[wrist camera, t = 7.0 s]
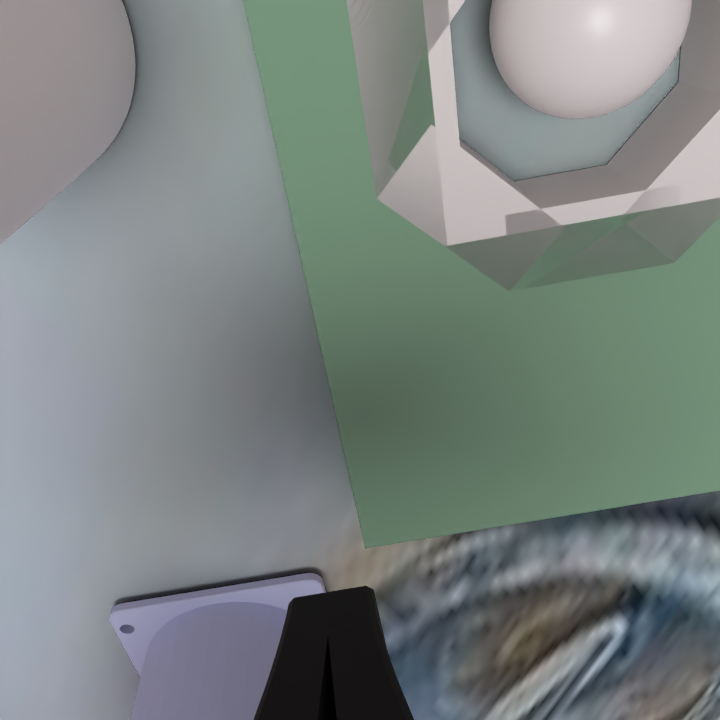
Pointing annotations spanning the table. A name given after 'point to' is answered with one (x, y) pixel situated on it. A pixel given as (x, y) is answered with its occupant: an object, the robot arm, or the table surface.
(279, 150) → the putting mat
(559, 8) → the ball
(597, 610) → the table surface
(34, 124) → the can
